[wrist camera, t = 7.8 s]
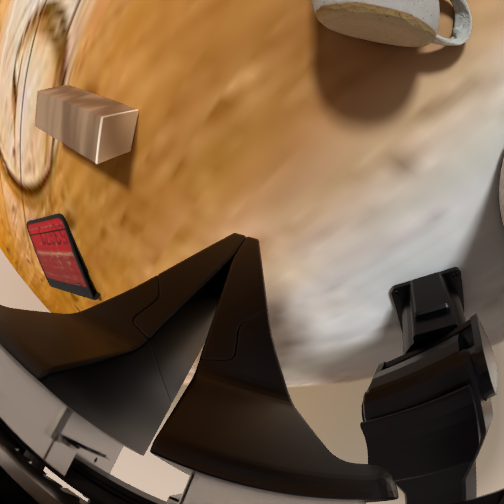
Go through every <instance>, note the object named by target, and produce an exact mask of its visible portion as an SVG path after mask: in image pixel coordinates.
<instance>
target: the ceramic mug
mask: <svg viewBox="0 0 504 504" xmlns="http://www.w3.org/2000/svg"><path fill="white" fill-rule="evenodd" d="M450 1H451V3H452V5H453V8H454V10H455V23H454V28H453V29H452V30H453V36H452V37H451V38H449V39H446V38H443V37H441V36H439V35H436V34H437V30H438V26H439V16H440V7H439V0H312V4H313V9H314V14H315V16H316V18H317V19H318V21H319V22H320V23H321V24H323V25H324V26H325V27H327V28H328V29H330V30H333V31H335V32H338V33H341V34H344V35H348V36H351V37H355V38H360V39H364V40H368V41H374V42H378V43H384V44H390V45H396V46H405V47H423V46H426V45H428V44H430V43H434V44H439V45H448V46H457V45H461V44H463V43H465V42H466V41H467V40H468V39H469V37H470V34H471V31H472V17H471V13H470V9H469V7H468V4H467V2H466V0H450Z"/></svg>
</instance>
